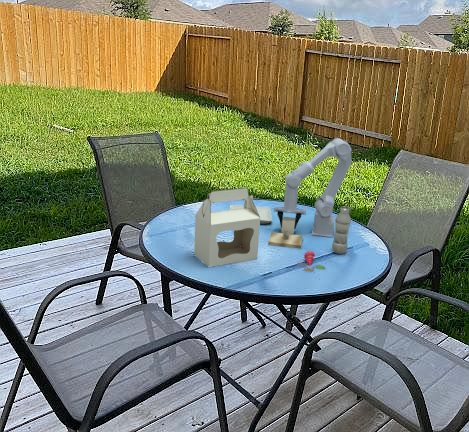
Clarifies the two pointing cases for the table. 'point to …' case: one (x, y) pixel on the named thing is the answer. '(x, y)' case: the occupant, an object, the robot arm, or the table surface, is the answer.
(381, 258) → the table surface
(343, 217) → the plastic bottle
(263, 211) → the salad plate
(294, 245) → the plate
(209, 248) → the gable box
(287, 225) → the pale matte cube
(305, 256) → the toy pieces
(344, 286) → the table surface
